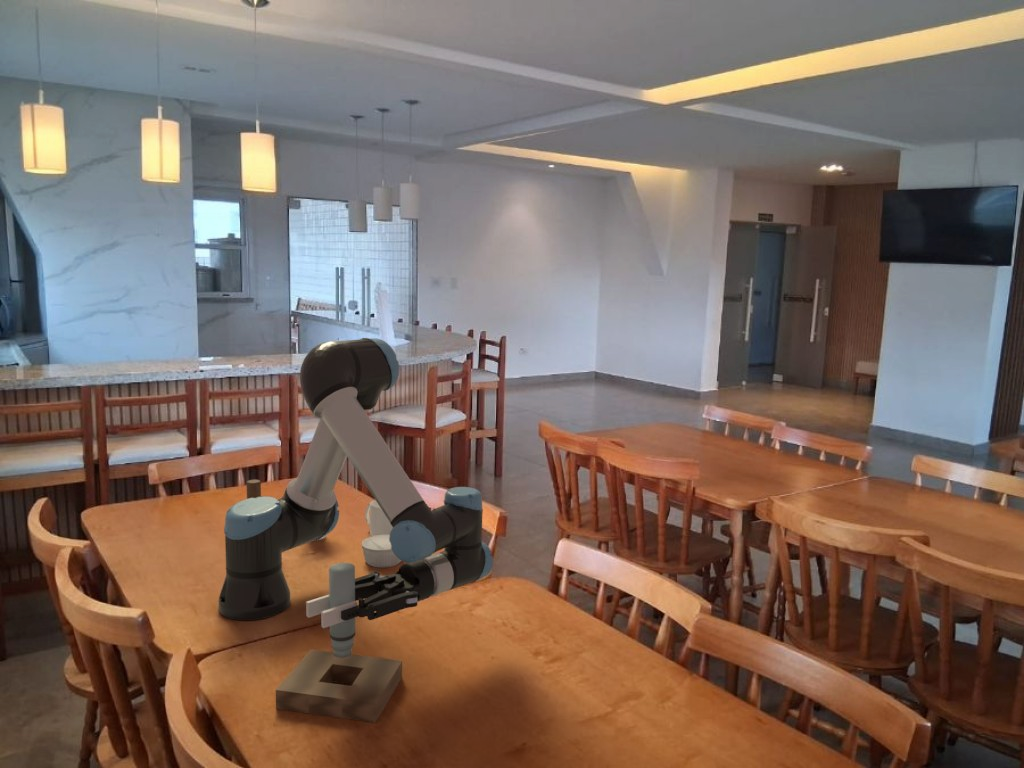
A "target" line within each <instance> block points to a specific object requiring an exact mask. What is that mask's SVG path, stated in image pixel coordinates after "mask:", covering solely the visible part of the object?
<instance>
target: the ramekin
mask: <svg viewBox="0 0 1024 768" xmlns="http://www.w3.org/2000/svg"><path fill="white" fill-rule="evenodd" d="M389 537H390V535H376V536H372V537H371V536H369V537H367V538H365V539H363V540H362V542H361V549H362V551H363V557H364V561H365V562H366V564H367V565H369V566H370V567H373V568H378V569H379V568H383V569H384V568H390V567H394V566H397V565H399V564H400V563H401V562H403V561H402V560H400V559H399V558H398V557H396V555H395V554H394V553H393V551H392V549H391V543H390V542H389Z"/></svg>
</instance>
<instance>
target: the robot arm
mask: <svg viewBox="0 0 1024 768" xmlns="http://www.w3.org/2000/svg"><path fill="white" fill-rule="evenodd" d="M399 364H400V363H399V360H398V358H397V354H396V352H395V351H394V349H393V347H392V346H391V345H390V344H389V343H388V342H386V341H385V340H382V339H380V338H373V337H371V338H370V337H361V338H360V339H350V340H349V339H347V340H346V339H345V340H334V341H333V340H332V341H330V340H329V341H325V342H322V343H319V344H317V345H316V346H314V347H313V348H312V349H311V350H310V351H309V352H308V353H307V354H306V356H305V357H304V359H303V360H302V363H301V366H300V372H299V384H300V388H301V389H300V390H301V393H302V396H303V398H304V400H305V403H306V405H307V406H308V408H309V409H310V412H311V413H312V414H313V416H314V417H315V418H316V419H318V420H319V421H318V423H317V426H316V428H315V431H314V434H313V437H312V438H311V441H310V444H309V447H308V449H307V452H306V455H305V458H304V460H303V463H302V464H301V468H300V470H299V473H298V476H297V477H295V478H293V479H291V480H290V481H289V482H288V483H287V485H286V488H285V491H284V494H283V496H282V497H281V498H279V499H277V498H275V497H272V496H262V495H261V497H257V498H249V499H247V498H246V499H243V500H240V501H238V502H236V503H234V504H233V505H231V506H230V507H229V508H228V510H227V511H226V513H225V517H224V527H223V533H224V537H225V538H224V541H225V546H224V547H225V572H226V573H225V577H224V581H223V583H222V588H221V590H220V593H219V596H218V612H219V613H220V614H221V616H223V617H225V618H228V619H232V620H235V621H236V620H237V621H256V620H262V619H266V618H270V617H274V616H275V615H278V614H281V613H282V612H283V611H285V610H287V608H289V606H290V604H291V590H290V588H289V585H288V582H287V580H286V577H285V573H284V572H283V567H282V566H283V563H282V560H283V559H282V553H284V552H287V551H289V550H291V549H296V548H297V547H300V546H303V545H306V544H309V543H312V542H315V541H314V540H318V539H320V538H322V537H323V536H325V535H326V536H327V535H329V534H330V533H331V532H332V531H333V530H334V529H335V528H336V526H337V525H338V521H339V518H340V510H339V509H338V508H339V507H340V506H339V501H338V499H337V494H336V492H335V491H334V489H335V487H336V484H337V482H338V479H339V478H340V474H341V472H342V470H343V467H344V466H345V463H346V460H347V459H348V460H349V461H350V463H351V464H352V466H353V468H354V469H355V470H356V473H357V474H358V476H359V477H360V478H361V480H362V482H363V483H364V485H365V487H366V488H367V489H368V491H369V492H370V494H371V496H372V497H373V500H376V502H377V503H378V505H379V506H380V508H381V509H382V511H383V512H384V514H385V516H386V517H387V519H388V520H389V522H390V523H391V525H392V527H393V529H392V530H391V532H390V537H389V542H390V543H391V549H392V551H393V553H394V554H395V555H396V557H398V558H399V559H400V560H402V561H401V562H405V563H402V564H401V565H400V566H399V569H398V570H397V571H396V573H391V574H386V575H380V571H379V570H373V571H371V572H370V573H368V574H366V575H362V576H359V577H355V601H352V602H349V603H346V604H343V605H340V606H337V607H334V608H331V609H329V594H326V595H323V596H320V597H316V598H313V599H310V600H307V601H305V606H306V607H305V609H306V611H305V613H306V617H307V618H313V617H315V616H319V615H321V616H320V618H321V622H320V623H321V628H323V629H326V628H330V626H332V625H335V624H338V623H340V622H343V621H346V620H350V619H352V618H355V619H356V618H357V617H359V618H365V617H367V620H369V621H374V620H376V619H379V618H382V617H385V616H388V615H390V614H393V613H396V612H398V611H399V612H400V611H402V610H404V609H408V608H409V609H410V608H415V607H417V606H418V602H420V601H421V602H422V601H424V600H426V599H429V598H430V597H437V596H438V595H440V594H442V593H445V592H448V591H451V590H453V589H457V588H460V587H464V586H466V585H469V584H473V583H476V582H477V581H479V580H482V579H483V578H485V577H487V576H489V575H490V574H491V572H492V571H493V567H494V557H493V556H492V550H491V548H490V547H489V545H487V544H486V543H485V542H484V541H482V537H483V535H482V534H483V513H484V508H483V494H482V493H481V492H480V490H479V489H477V488H474V487H469V486H456V487H451V488H449V489H447V490H446V491H445V494H444V500H443V505H441V506H438V507H436V508H433V509H430V507H429V506H428V504H427V503H426V501H425V500H424V498H423V497H422V496H421V494H420V492H419V491H418V489H417V487H415V485H414V483H413V482H412V480H411V479H410V478H409V475H408V474H407V473H406V471H405V470H404V468H403V466H402V465H401V463H399V461H398V459H397V457H396V456H395V455H394V453H393V451H392V450H391V449H390V447H389V446H388V444H387V442H385V439H384V437H382V435H381V433H380V431H379V430H378V429H377V427H376V426H375V424H374V422H373V421H372V420H371V418H370V417H369V415H368V414H367V412H368V411H371V410H373V409H374V408H375V407H376V405H377V404H378V401H379V398H380V396H381V394H382V391H383V392H385V391H388V390H389V389H392V388H393V387H394V386H395V385H396V383H397V382H398V380H399V375H400V365H399ZM443 549H444V550H443ZM441 550H443V551H441ZM439 551H441V552H439ZM357 601H358V602H357Z"/></svg>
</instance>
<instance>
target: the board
mask: <svg viewBox="0 0 1024 768" xmlns="http://www.w3.org/2000/svg"><path fill="white" fill-rule="evenodd" d="M402 679H403V660H399V659H392V658H383V657H376V656H367V655H359V654H358V655H357V654H352V653H351V655H349V656H348V657H344V658H338V657H336V656H335V655H334V651H326V650H320V649H310V650H309V651H308V652H307V653H306V655H305V656H304V657H303V658H302V659H301V660H300V662H299V663H298V664H297V665H296V666H295V667H294V668H293V670H291V672H290V673H289V674H288V675H287V676H286V677H285V679H284V680H283V681H282V682H281V683H280V684H279V686H278V687H277V688H275V709H276V710H283V711H291V712H297V713H306V714H312V715H318V716H326V717H333V718H338V719H339V718H340V719H341V718H342V719H347V720H353V721H360V722H361V721H362V722H368V723H369V722H370V723H375V724H376V723H377V721H378V720H379V718H380V716H381V715H382V713H383V712H384V709H385V708H386V706H387V704H388V703H389V701H390V699H391V698H392V696H393V694H394V693H395V690H396V689H397V687H398V686H399V684H400V683H401V681H402ZM399 682H400V683H399ZM338 683H339V684H338ZM346 684H348V685H346Z"/></svg>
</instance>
